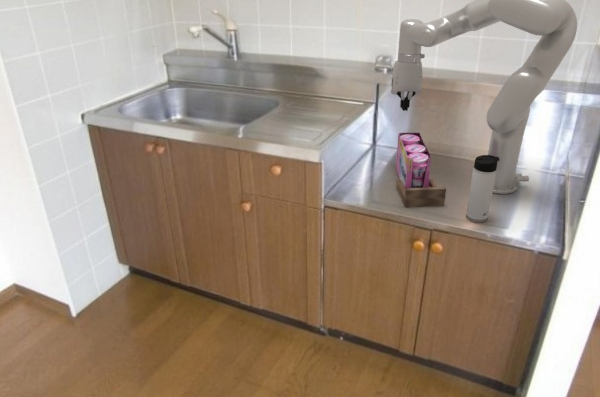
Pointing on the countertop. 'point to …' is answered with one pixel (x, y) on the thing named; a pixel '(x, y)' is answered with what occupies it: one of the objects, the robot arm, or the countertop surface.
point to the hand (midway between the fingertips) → (404, 109)
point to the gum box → (413, 161)
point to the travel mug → (481, 188)
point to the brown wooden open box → (422, 195)
